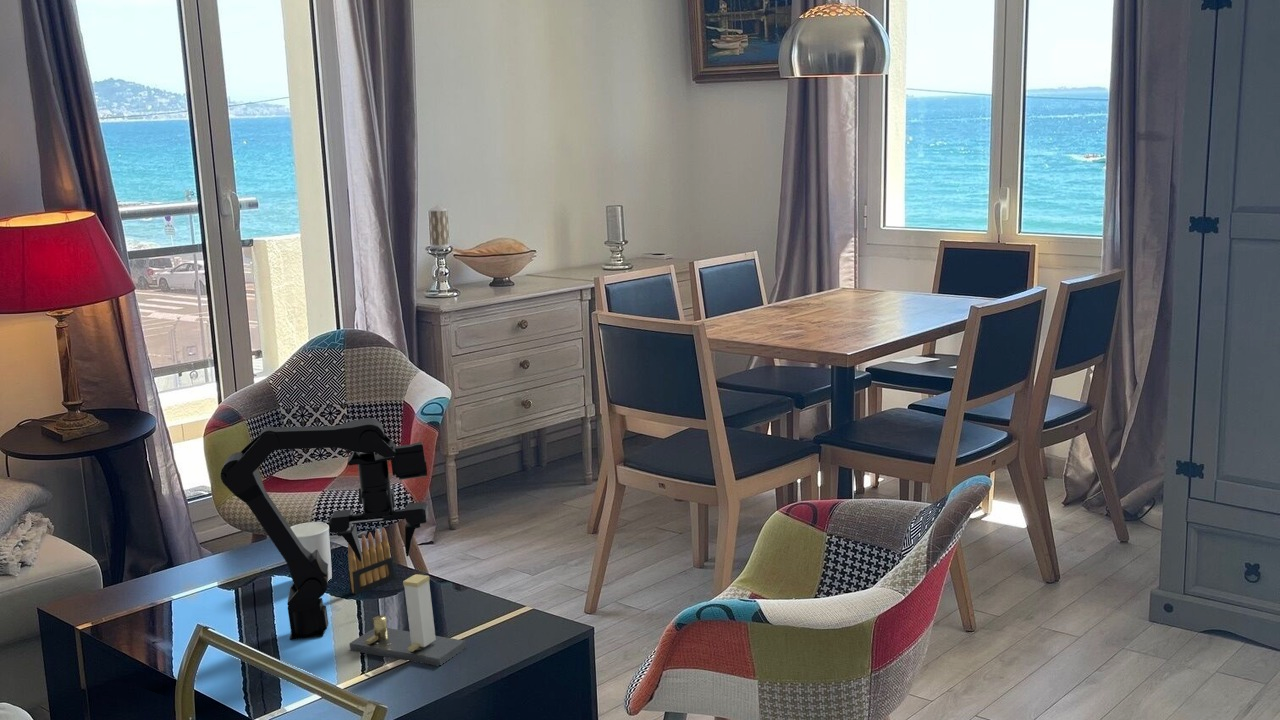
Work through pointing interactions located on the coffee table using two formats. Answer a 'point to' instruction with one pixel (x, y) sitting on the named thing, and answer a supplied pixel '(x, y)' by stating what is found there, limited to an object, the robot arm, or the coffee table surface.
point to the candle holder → (315, 540)
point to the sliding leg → (419, 611)
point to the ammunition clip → (370, 564)
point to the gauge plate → (404, 645)
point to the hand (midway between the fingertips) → (384, 558)
